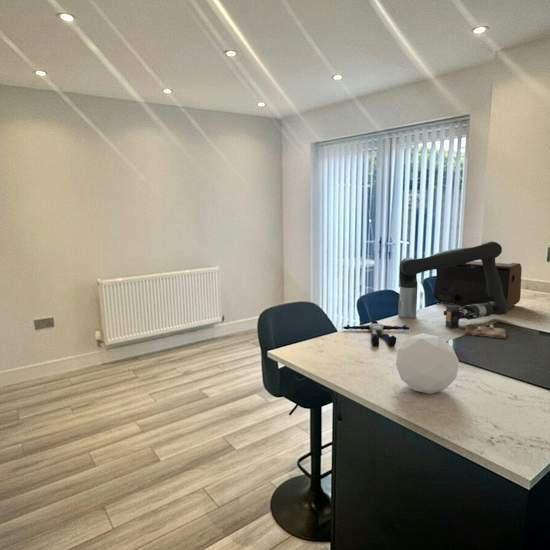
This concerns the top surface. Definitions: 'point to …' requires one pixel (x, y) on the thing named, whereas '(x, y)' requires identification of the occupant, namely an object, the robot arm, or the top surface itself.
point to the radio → (476, 284)
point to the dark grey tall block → (452, 316)
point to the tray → (485, 331)
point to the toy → (379, 332)
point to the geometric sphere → (427, 363)
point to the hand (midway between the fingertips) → (450, 315)
